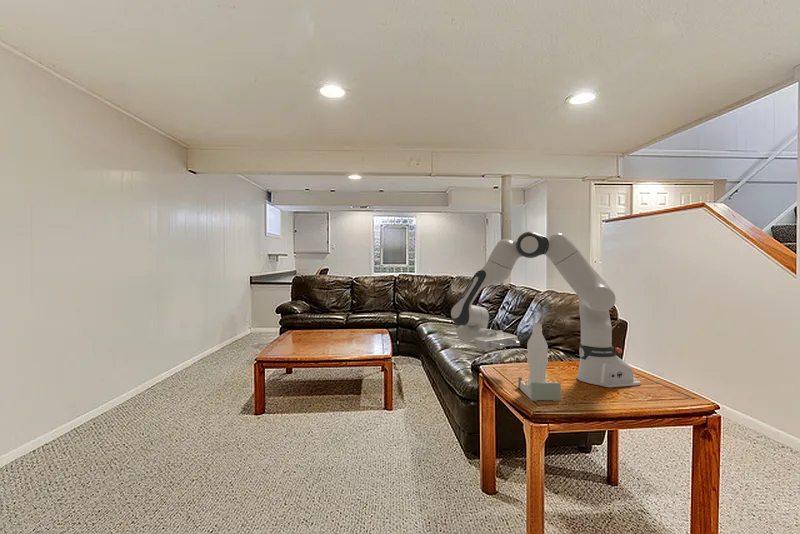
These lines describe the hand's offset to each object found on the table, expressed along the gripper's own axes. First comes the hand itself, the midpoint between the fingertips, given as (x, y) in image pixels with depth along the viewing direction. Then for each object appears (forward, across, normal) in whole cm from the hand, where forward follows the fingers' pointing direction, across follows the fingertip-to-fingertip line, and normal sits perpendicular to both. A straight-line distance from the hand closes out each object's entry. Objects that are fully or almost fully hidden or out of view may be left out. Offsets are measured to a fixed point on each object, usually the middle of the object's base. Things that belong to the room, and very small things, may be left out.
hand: (510, 345), depth 147 cm
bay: (+15, -2, +15) cm, 21 cm away
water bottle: (+13, 0, +15) cm, 20 cm away
